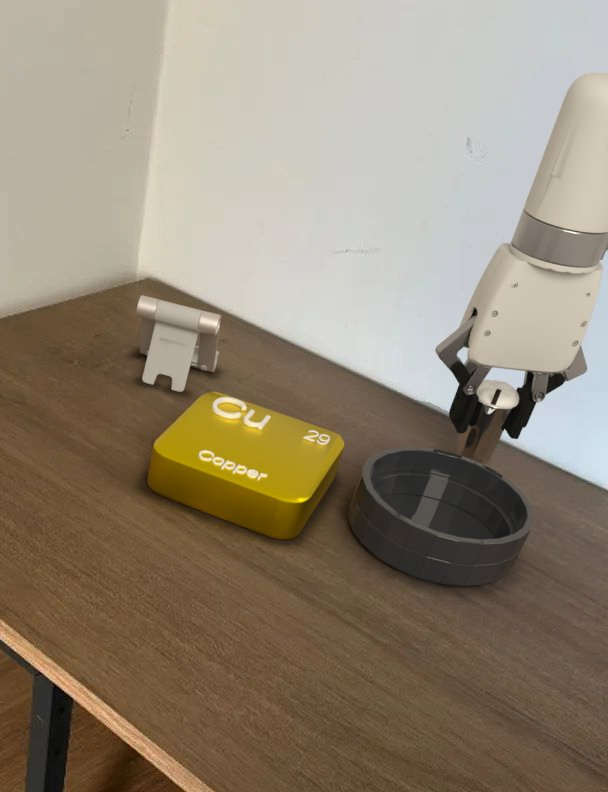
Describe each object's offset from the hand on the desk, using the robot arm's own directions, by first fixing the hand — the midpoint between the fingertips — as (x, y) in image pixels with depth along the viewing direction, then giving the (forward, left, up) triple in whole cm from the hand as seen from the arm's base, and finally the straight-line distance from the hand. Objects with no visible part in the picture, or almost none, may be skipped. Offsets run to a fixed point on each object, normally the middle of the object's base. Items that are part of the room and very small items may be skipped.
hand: (483, 427), depth 95 cm
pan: (+7, +12, -6) cm, 15 cm away
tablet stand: (+30, -15, -6) cm, 34 cm away
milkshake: (0, 0, -5) cm, 5 cm away
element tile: (+24, +6, -6) cm, 25 cm away
